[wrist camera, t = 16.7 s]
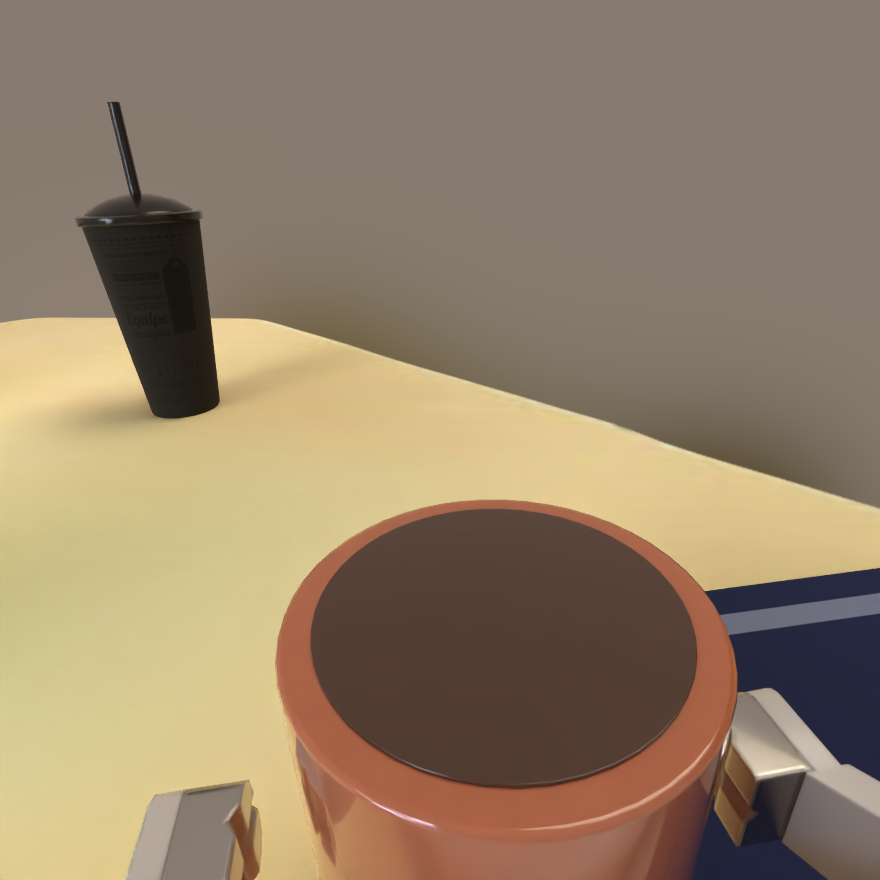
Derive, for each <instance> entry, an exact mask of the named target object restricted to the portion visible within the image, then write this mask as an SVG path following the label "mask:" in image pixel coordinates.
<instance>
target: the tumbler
mask: <svg viewBox="0 0 880 880" xmlns="http://www.w3.org/2000/svg"><path fill="white" fill-rule="evenodd" d="M275 669H276V681H277V689H278V693H279V698H280V702H281V707H282V712H283V716H284V721H285V725H286V730H287V734H288V739H289V744H290V748H291V753H292V757H293V762H294V766H295V771H296V776H297V780H298V785H299V789H300V794H301V798H302V803H303V808H304V812H305V817H306V821H307V826H308V830H309V835H310V840H311V844H312V849H313V853H314V858H315V862H316V867H317V872H318V876H319V880H692V877H693V873H694V869H695V865H696V861H697V857H698V853H699V849H700V845H701V842H702V838H703V834H704V830H705V826H706V822H707V818H708V814H709V810H710V806H711V803H712V799H713V795H714V791H715V787H716V783H717V779H718V775H719V771H720V767H721V764H722V760H723V756H724V752H725V748H726V744H727V740H728V736H729V732H730V728H731V725H732V721H733V716H734V712H735V708H736V704H737V693H738V673H737V666H736V659H735V653H734V650H733V647H732V644H731V641H730V638H729V635H728V632H727V629H726V626H725V624H724V622H723V620H722V619H721V617H720V615H719V613H718V611H717V609H716V607H715V605H714V604H713V603H712V601H711V600H710V599H709V597H708V596H707V594H706V593H705V592H704V590H703V589H702V587H701V586H700V585H699V584H698V583H697V582H696V581H695V580H694V579H693V578H692V577H691V576H690V575H689V573H688V572H687V571H686V570H685V569H683V568H682V567H681V566H680V565H679V564H678V563H676V562H675V561H674V560H673V559H672V558H671V557H669V556H668V555H667V554H665V553H664V552H662V551H661V550H660V549H658V548H657V547H655V546H654V545H652V544H651V543H649V542H648V541H646V540H644V539H642V538H641V537H639V536H637V535H635V534H634V533H632V532H630V531H628V530H626V529H623V528H621V527H619V526H617V525H615V524H613V523H610V522H608V521H605V520H602V519H600V518H597V517H594V516H591V515H588V514H585V513H582V512H578V511H575V510H571V509H567V508H563V507H558V506H553V505H549V504H542V503H535V502H528V501H515V500H470V501H459V502H451V503H444V504H439V505H434V506H429V507H424V508H420V509H417V510H413V511H410V512H406V513H403V514H400V515H397V516H395V517H392V518H389V519H386V520H384V521H382V522H380V523H377V524H375V525H373V526H371V527H369V528H367V529H365V530H363V531H361V532H360V533H358V534H356V535H355V536H353V537H351V538H349V539H348V540H346V541H345V542H344V543H342V544H341V545H340V546H338V547H337V548H335V549H334V550H333V551H331V552H330V553H329V554H328V555H327V556H326V557H325V558H324V559H323V560H322V561H320V562H319V563H318V564H317V565H316V566H315V568H314V569H313V570H312V571H311V572H310V573H309V575H308V576H307V577H306V578H305V579H304V580H303V582H302V583H301V585H300V587H299V588H298V590H297V591H296V593H295V594H294V596H293V597H292V600H291V602H290V604H289V606H288V608H287V611H286V613H285V615H284V618H283V621H282V624H281V628H280V632H279V635H278V639H277V647H276V657H275Z"/></svg>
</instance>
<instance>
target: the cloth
mask: <svg viewBox="0 0 880 880" xmlns="http://www.w3.org/2000/svg"><path fill="white" fill-rule="evenodd" d="M704 592H705V593H706V594H707V596H708V597H709V599H710V600H711V601H712V603H713V604H714V605H715V607H716V609H717V611H718V613H719V615H720V617H721V619H722V620H723V622H724V624H725V626H726V629H727V632H728V635H729V638H730V641H731V644H732V647H733V650H734V653H735V659H736V666H737V673H738V692H743V693H744V692H749V691H754V690H758V689H763V688H772V689H773V690H775V691H776V692H778V693H779V694H780V695H781V696H782V698H783V699H784V700H785V701H786V702H787V703H788V705H789V706H790V707H791V708H792V709H793V710H794V711H795V713H796V714H797V715H798V716H799V717H800V718H801V720H802V721H803V722H804V723H805V724H806V725H807V726H808V728H809V729H810V730H811V731H812V732H813V733H814V735H815V736H816V737H817V738H818V739H819V740H820V741H821V743H822V744H823V745H824V746H825V747H826V748H827V750H828V751H829V752H830V753H831V754H832V755H833V756H834V758H835V759H836V760H837V761H838V762H839V763H840V765H845V764H850V765H851V766H853V767H855V768H857V769H858V770H860V771H862V772H864V773H865V774H867V775H869V776H871V777H872V778H874V779H876V780H878V781H879V782H880V568H877V569H869V570H862V571H854V572H846V573H839V574H831V575H824V576H816V577H809V578H801V579H794V580H786V581H778V582H771V583H763V584H756V585H748V586H741V587H733V588H726V589H718V590H710V591H704ZM714 800H715V796H714V795H713V799H712V803H711V806H710V810H709V814H708V818H707V822H706V826H705V830H704V834H703V838H702V842H701V845H700V849H699V853H698V857H697V861H696V865H695V869H694V873H693V877H692V880H827V879H826V878H825V877H824V876H823V875H821V874H820V873H819V872H818V871H816V870H815V869H814V868H813V867H812V866H810V865H809V864H808V863H807V862H805V861H804V860H803V859H802V858H801V857H799V856H798V855H797V854H796V853H794V852H793V851H792V850H791V849H789V848H788V847H787V846H786V845H785V844H783V843H782V840H783V839H781V840H775V841H769V842H764V843H758V844H753V845H747V846H741V847H736V845H735V843H734V842H733V840H732V838H731V837H730V835H729V833H728V832H727V830H726V828H725V827H724V825H723V823H722V822H721V820H720V818H719V817H718V815H717V813H716V812H715V810H714Z"/></svg>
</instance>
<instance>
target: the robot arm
mask: <svg viewBox="0 0 880 880" xmlns="http://www.w3.org/2000/svg"><path fill="white" fill-rule="evenodd" d="M714 796H715V800H714V810H715V812H716V813H717V815H718V817H719V818H720V820H721V822H722V823H723V825H724V827H725V828H726V830H727V832H728V833H729V835H730V837H731V838H732V840H733V842H734V843H735V845H736V847H741V846H747V845H753V844H758V843H764V842H769V841H775V840H781V839H783V840H782V843H783V844H785V845H786V846H787V847H788V848H789V849H791V850H792V851H793V852H794V853H796V854H797V855H798V856H799V857H801V858H802V859H803V860H804V861H805V862H807V863H808V864H809V865H810V866H812V867H813V868H814V869H815V870H816V871H818V872H819V873H820V874H821V875H823V876H824V877H825V878H826V879H827V880H880V782H879V781H878V780H876V779H874V778H872V777H871V776H869V775H867V774H865V773H864V772H862V771H860V770H858V769H857V768H855V767H853V766H851V765H850V764H845V765H840V763H839V762H838V761H837V760H836V759H835V758H834V756H833V755H832V754H831V753H830V752H829V751H828V750H827V748H826V747H825V746H824V745H823V744H822V743H821V741H820V740H819V739H818V738H817V737H816V736H815V735H814V733H813V732H812V731H811V730H810V729H809V728H808V726H807V725H806V724H805V723H804V722H803V721H802V720H801V718H800V717H799V716H798V715H797V714H796V713H795V711H794V710H793V709H792V708H791V707H790V706H789V705H788V703H787V702H786V701H785V700H784V699H783V698H782V696H781V695H780V694H779V693H778V692H776V691H775V690H773V689H772V688H763V689H758V690H754V691H749V692H744V693H743V692H738V693H737V704H736V708H735V712H734V716H733V721H732V725H731V728H730V732H729V736H728V740H727V744H726V748H725V752H724V756H723V760H722V764H721V767H720V771H719V775H718V779H717V783H716V787H715V791H714ZM252 798H253V790H252V787H251V784H250V780H244V781H238V782H231V783H225V784H219V785H212V786H206V787H200V788H193V789H185V790H179V791H174V792H168V793H162V794H156V795H154V797H153V798H152V800H151V802H150V803H149V805H148V807H147V810H146V814H145V817H144V820H143V823H142V827H141V830H140V833H139V836H138V840H137V843H136V846H135V850H134V853H133V856H132V859H131V863H130V866H129V869H128V873H127V876H126V879H125V880H254V879H255V878H256V876H257V875H258V873H259V872H260V863H261V853H262V829H261V820H260V815H259V811H258V809H257V808H256V807H254V806H252Z"/></svg>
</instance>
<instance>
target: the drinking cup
mask: <svg viewBox="0 0 880 880" xmlns="http://www.w3.org/2000/svg"><path fill="white" fill-rule="evenodd" d="M108 107H109V111H110V115H111V119H112V123H113V127H114V131H115V135H116V140H117V143H118V147H119V152H120V156H121V160H122V164H123V168H124V172H125V176H126V180H127V184H128V188H129V192H130V194H126V195H120V196H117V197H113V198H110V199H107V200H105V201H103V202H100V203H98V204H96V205H95V206H93V207H92V208H91V209H89V210H88V211H87V212H86V213H85V214H84V215H83V216H78V217H75V222H76V225H77V226H78V227H82V229H83V231H84V234H85V237H86V239H87V242H88V244H89V247H90V250H91V252H92V255H93V258H94V260H95V263H96V265H97V268H98V271H99V274H100V276H101V279H102V281H103V284H104V287H105V289H106V292H107V294H108V297H109V300H110V302H111V305H112V308H113V310H114V313H115V316H116V318H117V321H118V324H119V326H120V329H121V331H122V334H123V337H124V339H125V342H126V345H127V347H128V350H129V352H130V355H131V358H132V360H133V363H134V366H135V368H136V371H137V374H138V376H139V379H140V381H141V384H142V387H143V389H144V392H145V395H146V397H147V400H148V402H149V405H150V408H151V410H152V413H153V414H154V415H156V416H159V417H165V418H176V417H185V416H191V415H195V414H199V413H202V412H205V411H208V410H210V409H212V408H214V407H215V406H216V405H218V403H219V401H220V398H219V389H218V380H217V371H216V362H215V354H214V345H213V336H212V327H211V318H210V309H209V301H208V291H207V283H206V274H205V265H204V256H203V247H202V238H201V230H200V221H199V220H200V219H202V218H203V214H202V211H201V210H199V209H193V208H191V207H190V206H188V205H186V204H184V203H182V202H180V201H177V200H175V199H172V198H169V197H164V196H160V195H153V194H141V191H140V186H139V182H138V178H137V173H136V169H135V165H134V161H133V157H132V152H131V148H130V144H129V140H128V136H127V131H126V128H125V123H124V119H123V115H122V110H121V106H120V103H119V102H108Z"/></svg>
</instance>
